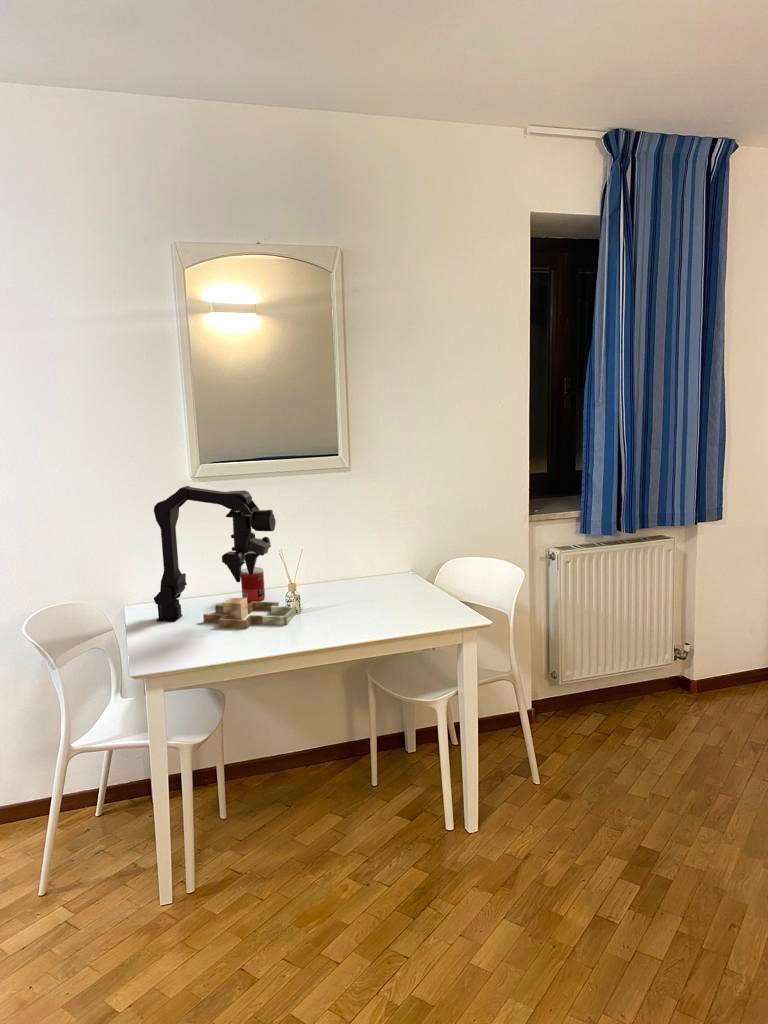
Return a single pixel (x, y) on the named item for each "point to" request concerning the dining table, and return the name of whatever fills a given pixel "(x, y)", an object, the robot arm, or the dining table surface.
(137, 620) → the dining table surface
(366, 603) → the dining table surface
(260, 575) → the canned food
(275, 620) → the channel
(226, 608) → the block
